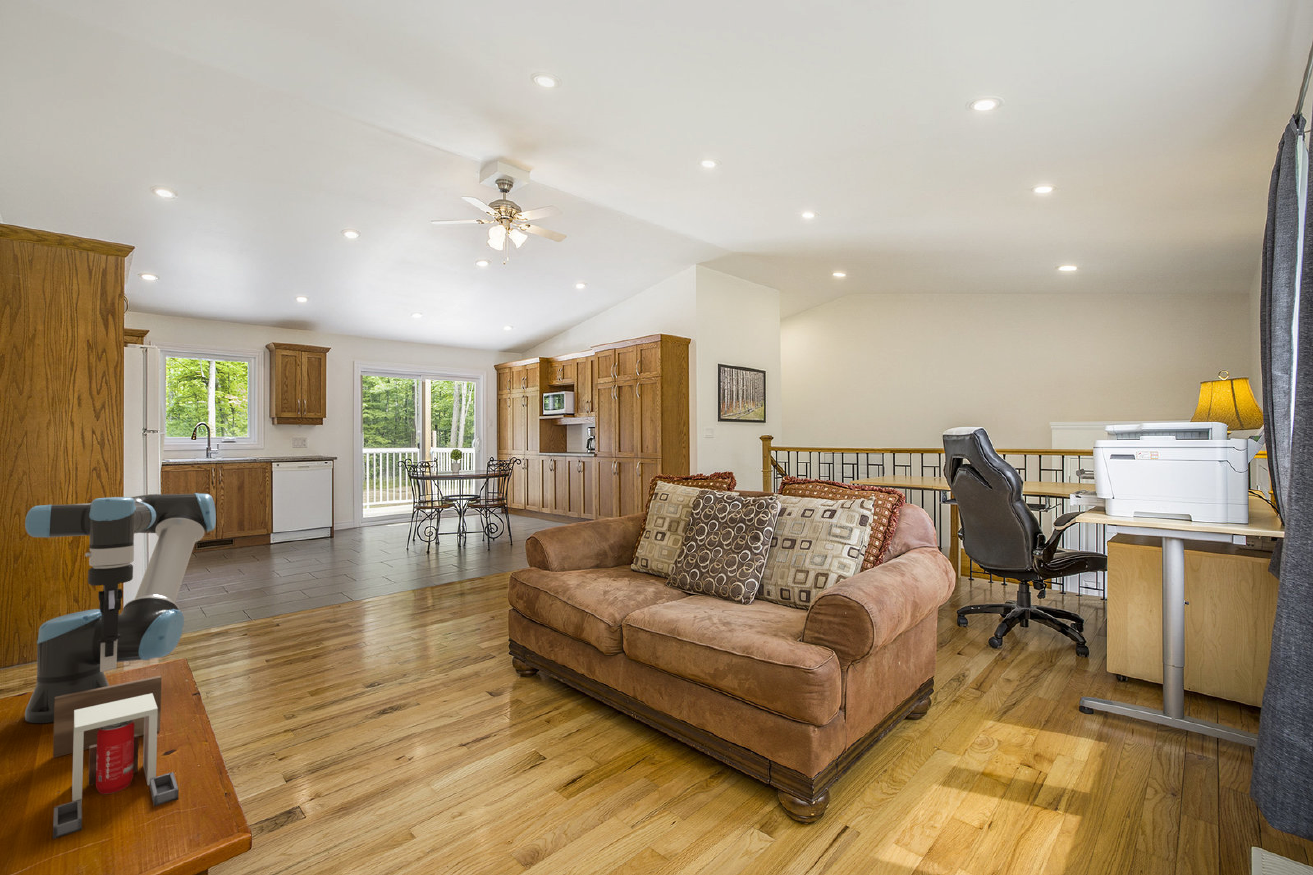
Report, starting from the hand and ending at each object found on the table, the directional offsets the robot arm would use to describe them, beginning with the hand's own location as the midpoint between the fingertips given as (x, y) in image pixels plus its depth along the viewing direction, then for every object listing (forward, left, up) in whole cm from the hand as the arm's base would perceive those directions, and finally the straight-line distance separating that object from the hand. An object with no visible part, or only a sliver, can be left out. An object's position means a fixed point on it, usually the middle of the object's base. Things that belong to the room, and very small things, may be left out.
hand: (108, 669), depth 134 cm
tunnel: (+30, 0, -14) cm, 33 cm away
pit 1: (+40, -6, -14) cm, 43 cm away
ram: (+18, 0, -14) cm, 22 cm away
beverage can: (+31, 0, -14) cm, 34 cm away
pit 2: (+40, +7, -14) cm, 43 cm away
